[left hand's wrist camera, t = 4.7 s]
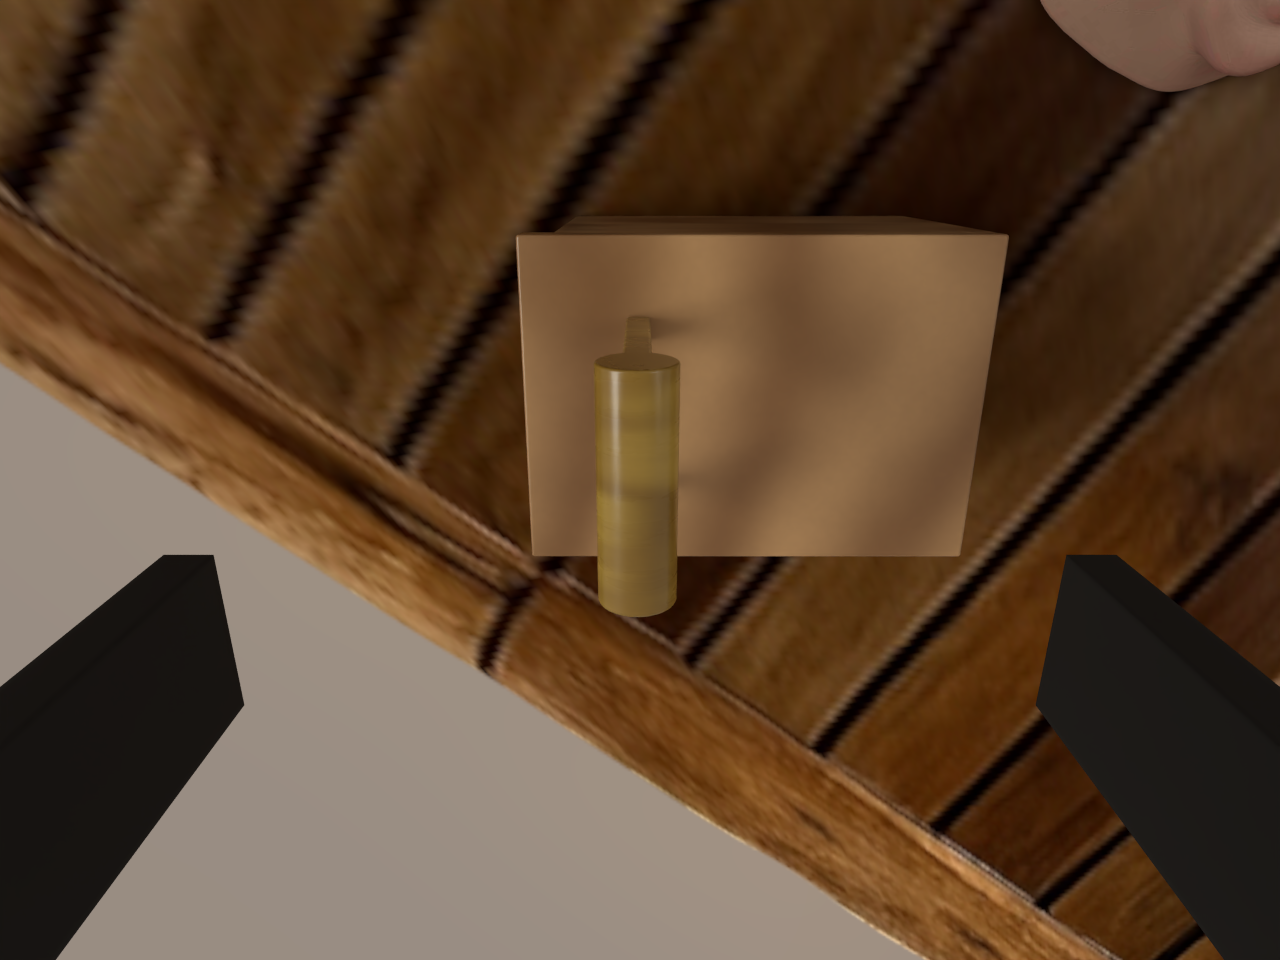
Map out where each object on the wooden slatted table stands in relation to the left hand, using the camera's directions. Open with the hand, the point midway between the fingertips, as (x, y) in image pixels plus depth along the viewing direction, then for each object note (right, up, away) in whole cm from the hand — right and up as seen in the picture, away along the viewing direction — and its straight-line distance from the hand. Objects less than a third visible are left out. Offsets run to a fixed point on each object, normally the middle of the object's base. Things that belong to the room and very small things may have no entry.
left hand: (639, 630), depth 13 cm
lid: (+3, +5, +13) cm, 14 cm away
